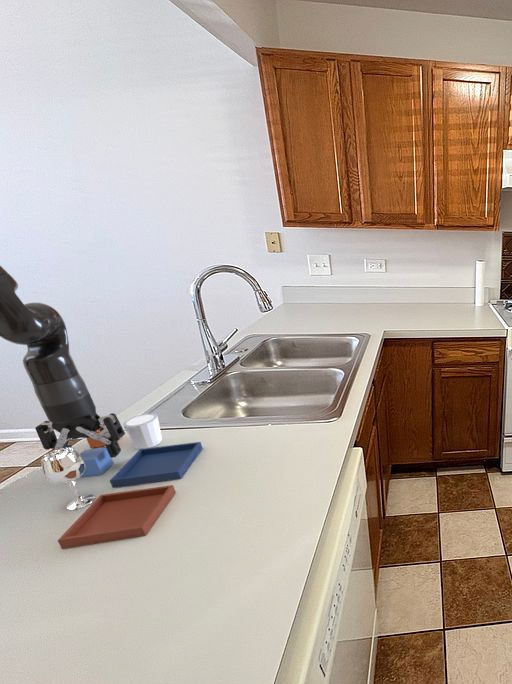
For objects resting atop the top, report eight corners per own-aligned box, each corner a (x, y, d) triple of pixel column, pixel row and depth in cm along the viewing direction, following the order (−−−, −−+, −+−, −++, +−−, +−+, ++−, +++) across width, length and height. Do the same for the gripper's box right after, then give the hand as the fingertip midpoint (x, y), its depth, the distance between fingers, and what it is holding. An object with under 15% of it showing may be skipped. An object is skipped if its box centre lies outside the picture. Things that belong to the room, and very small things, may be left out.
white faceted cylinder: (148, 452, 99) (139, 427, 96) (124, 449, 100) (115, 425, 97) (172, 437, 105) (164, 414, 103) (149, 434, 106) (141, 411, 104)
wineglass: (104, 498, 83) (82, 451, 79) (67, 516, 79) (42, 466, 74) (93, 489, 86) (72, 442, 82) (57, 505, 81) (32, 457, 77)
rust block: (90, 448, 100) (83, 433, 99) (101, 438, 105) (95, 424, 103) (111, 446, 101) (105, 431, 100) (121, 436, 105) (115, 422, 104)
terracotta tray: (61, 548, 71) (57, 540, 71) (104, 502, 82) (100, 494, 82) (145, 535, 74) (142, 527, 73) (176, 492, 85) (173, 484, 84)
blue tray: (112, 488, 87) (109, 480, 86) (142, 455, 98) (140, 448, 97) (180, 478, 89) (178, 471, 89) (202, 448, 100) (200, 441, 100)
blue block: (78, 477, 90) (71, 461, 88) (91, 465, 94) (84, 449, 92) (102, 474, 91) (94, 458, 89) (113, 463, 95) (107, 447, 93)
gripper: (113, 385, 90) (138, 444, 96) (38, 392, 87) (68, 453, 93) (92, 400, 83) (120, 463, 89) (9, 408, 80) (44, 473, 87)
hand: (94, 458), depth 91 cm, fingers open, 8 cm apart
